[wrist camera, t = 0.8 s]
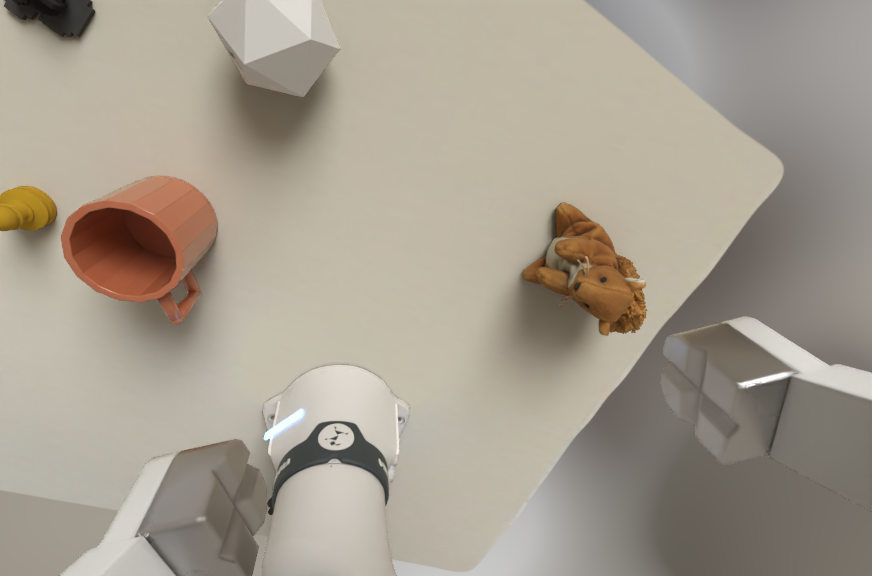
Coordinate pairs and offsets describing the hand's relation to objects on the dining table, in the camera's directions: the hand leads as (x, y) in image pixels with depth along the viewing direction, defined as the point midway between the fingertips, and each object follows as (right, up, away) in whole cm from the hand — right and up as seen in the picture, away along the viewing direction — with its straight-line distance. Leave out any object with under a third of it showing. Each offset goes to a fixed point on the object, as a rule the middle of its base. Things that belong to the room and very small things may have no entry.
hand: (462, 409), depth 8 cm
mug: (-27, +8, +36) cm, 46 cm away
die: (-14, +25, +30) cm, 41 cm away
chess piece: (-39, +10, +33) cm, 52 cm away
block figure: (-31, +26, +27) cm, 49 cm away
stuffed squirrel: (+17, +6, +44) cm, 48 cm away
